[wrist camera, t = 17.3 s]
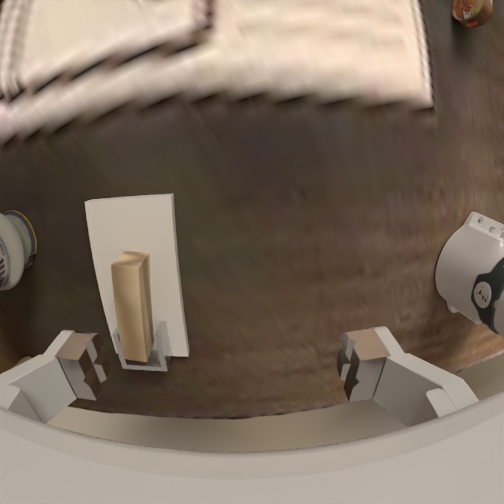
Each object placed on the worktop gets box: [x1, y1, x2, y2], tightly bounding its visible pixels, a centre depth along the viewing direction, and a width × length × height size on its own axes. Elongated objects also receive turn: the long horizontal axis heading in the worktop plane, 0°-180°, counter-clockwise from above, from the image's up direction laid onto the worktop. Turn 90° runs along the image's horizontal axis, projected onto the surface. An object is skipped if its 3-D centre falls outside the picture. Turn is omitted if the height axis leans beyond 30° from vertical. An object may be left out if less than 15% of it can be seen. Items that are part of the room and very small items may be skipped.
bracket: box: [85, 194, 189, 371], centre depth 37 cm, size 12×24×6 cm, turn 0°
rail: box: [111, 251, 154, 362], centre depth 37 cm, size 4×14×5 cm, turn 174°
